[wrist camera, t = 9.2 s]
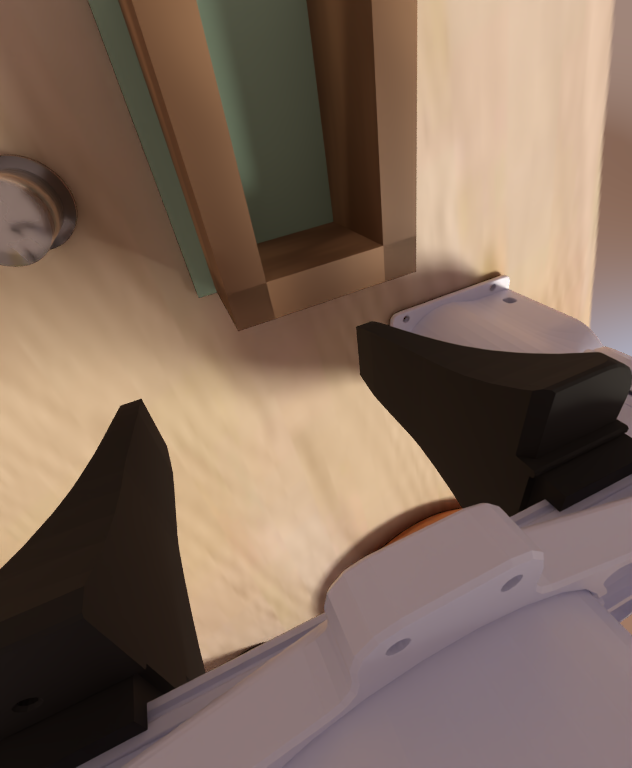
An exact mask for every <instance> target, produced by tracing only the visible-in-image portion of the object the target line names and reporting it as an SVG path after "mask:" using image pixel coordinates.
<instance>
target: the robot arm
mask: <svg viewBox="0 0 632 768" xmlns="http://www.w3.org/2000/svg"><path fill="white" fill-rule="evenodd" d="M509 283H510V278H509V277H508V276H506V275H501V276H498V277H495V278H492V279H489V280H487V281H484V282H481V283H478V284H476V285H473V286H470V287H467V288H464V289H462V290H459V291H456V292H453V293H450V294H448V295H445V296H442V297H439V298H437V299H434V300H431V301H428V302H425V303H423V304H420V305H417V306H414V307H411V308H409V309H406V310H403V311H400V312H398V313H395V314H394V315H393V316H392V318H391V320H390V326H389V325H385V324H382V323H378V322H373V321H372V322H369V323H366V324H363V325H360V326H357V327H356V330H357V342H358V354H359V366H360V375H361V377H362V378H363V380H364V381H365V383H366V384H367V386H368V387H369V389H370V390H371V392H372V393H373V395H374V396H375V397H376V398H377V399H378V401H379V402H380V403H381V404H382V405H383V406H384V407H385V408H386V409H387V410H388V412H389V413H390V414H391V415H392V416H393V417H394V418H395V419H396V420H397V421H398V422H399V423H400V425H401V426H402V427H403V428H404V429H405V430H406V431H407V432H408V433H409V434H410V435H411V436H412V438H413V439H414V440H415V441H416V442H417V444H418V445H419V446H420V447H421V449H422V450H423V451H424V453H425V454H426V455H427V457H428V458H429V460H430V461H431V462H432V464H433V465H434V466H435V468H436V469H437V471H438V472H439V474H440V475H441V477H442V478H443V479H444V481H445V482H446V484H447V485H448V487H449V488H450V490H451V491H452V493H453V494H454V496H455V497H456V499H457V501H458V502H459V504H460V505H461V507H462V508H463V509H461V510H459V511H457V512H455V513H453V514H451V515H449V516H447V517H445V518H443V519H441V520H439V521H437V522H435V523H433V524H431V525H428V526H426V527H424V528H422V529H420V530H418V531H416V532H414V533H412V534H410V535H408V536H406V537H404V538H402V539H400V540H398V541H396V542H394V543H392V544H390V545H388V546H386V547H384V548H381V549H379V550H377V551H375V552H373V553H371V554H369V555H367V556H365V557H364V558H362V559H361V560H359V561H357V562H356V563H354V564H353V565H351V566H350V567H348V568H347V569H345V570H344V571H343V572H342V573H341V574H340V575H339V577H338V578H337V579H336V580H335V581H334V582H333V583H332V585H331V586H330V587H329V589H328V592H327V595H326V600H325V605H324V611H325V612H324V613H322V614H320V615H318V616H316V617H314V618H312V619H310V620H308V621H306V622H304V623H302V624H300V625H299V626H297V627H295V628H293V629H291V630H289V631H287V632H285V633H283V634H281V635H279V636H277V637H275V638H273V639H271V640H269V641H267V642H265V643H263V644H261V645H259V646H258V647H256V648H254V649H252V650H250V651H248V652H246V653H244V654H242V655H240V656H238V657H236V658H234V659H232V660H230V661H228V662H226V663H224V664H222V665H220V666H219V667H217V668H215V669H213V670H211V671H209V672H207V673H205V669H204V665H203V661H202V657H201V653H200V648H199V644H198V640H197V635H196V631H195V626H194V622H193V617H192V613H191V608H190V603H189V598H188V593H187V588H186V584H185V579H184V573H183V568H182V563H181V557H180V552H179V545H178V536H177V522H176V508H175V494H174V481H173V471H172V467H171V462H170V457H169V453H168V449H167V445H166V443H165V442H164V440H163V438H162V436H161V434H160V432H159V431H158V429H157V427H156V425H155V423H154V421H153V419H152V418H151V416H150V414H149V412H148V410H147V408H146V406H145V405H144V403H143V401H142V399H139V400H136V401H133V402H130V403H127V404H124V405H121V406H120V408H119V409H118V411H117V413H116V415H115V417H114V419H113V421H112V422H111V424H110V426H109V428H108V430H107V432H106V434H105V436H104V438H103V439H102V441H101V443H100V445H99V446H98V448H97V450H96V452H95V454H94V455H93V457H92V458H91V460H90V462H89V463H88V465H87V466H86V468H85V469H84V471H83V473H82V474H81V476H80V477H79V479H78V480H77V482H76V483H75V485H74V486H73V488H72V489H71V490H70V492H69V493H68V494H67V496H66V497H65V498H64V500H63V501H62V502H61V503H60V505H59V506H58V507H57V508H56V510H55V511H54V512H53V513H52V515H51V516H50V517H49V518H48V519H47V520H46V521H45V523H44V524H43V525H42V526H41V527H40V528H39V529H38V530H37V531H36V533H35V534H34V535H33V536H32V537H31V538H30V539H29V540H28V542H27V543H26V544H25V545H24V546H23V547H22V548H21V549H20V550H19V551H18V552H17V553H16V554H15V555H14V556H13V557H12V558H11V559H10V560H9V561H8V562H7V563H6V564H5V565H4V566H3V567H2V568H1V569H0V768H632V635H631V634H630V633H629V632H628V631H627V630H626V629H625V628H624V627H623V626H622V625H621V624H620V622H622V621H623V620H624V619H626V618H627V617H628V616H630V615H631V614H632V357H631V356H629V355H627V354H624V353H622V352H619V351H617V350H614V349H612V348H608V347H603V346H602V344H601V342H600V340H599V339H598V338H597V336H596V335H595V334H594V333H593V331H592V330H591V329H590V328H588V327H587V326H586V325H585V324H584V323H582V322H581V321H579V320H577V319H575V318H573V317H571V316H568V315H566V314H564V313H562V312H559V311H557V310H555V309H553V308H550V307H548V306H546V305H544V304H541V303H539V302H537V301H534V300H532V299H530V298H528V297H525V296H523V295H521V294H519V293H516V292H514V291H512V290H509ZM490 287H491V288H490ZM405 316H406V318H405V320H403V318H404V317H405Z"/></svg>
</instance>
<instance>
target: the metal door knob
mask: <svg viewBox="0 0 632 768" xmlns="http://www.w3.org/2000/svg"><path fill="white" fill-rule="evenodd" d="M76 221H77V209H76V204H75V201H74V198H73V196H72V194H71V192H70V190H69V188H68V187H67V186H66V184H65V183H64V182H63V181H62V179H61V178H60V177H59V176H58V175H57V174H55V173H54V172H53V171H52V170H50V169H49V168H48V167H46V166H44V165H43V164H41V163H39V162H37V161H35V160H32V159H29V158H26V157H22V156H17V155H2V156H0V265H4V266H13V267H18V266H26V265H30V264H33V263H35V262H37V261H39V260H40V259H41V258H43V257H44V256H45V255H46V253H47V252H48V250H50V249H53V248H56V247H58V246H60V245H61V244H63V243H64V242H65V241H66V240H68V239H69V237H70V236H71V234H72V232H73V230H74V228H75V225H76Z"/></svg>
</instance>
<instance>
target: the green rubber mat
mask: <svg viewBox="0 0 632 768" xmlns="http://www.w3.org/2000/svg"><path fill="white" fill-rule="evenodd" d="M88 2H89V5H90V7H91V10H92V13H93V15H94V18H95V21H96V23H97V26H98V29H99V31H100V34H101V37H102V40H103V42H104V45H105V48H106V50H107V53H108V56H109V58H110V61H111V64H112V66H113V69H114V72H115V74H116V77H117V80H118V82H119V85H120V88H121V91H122V93H123V96H124V99H125V101H126V104H127V107H128V109H129V112H130V115H131V117H132V120H133V123H134V125H135V128H136V131H137V133H138V136H139V139H140V141H141V144H142V147H143V150H144V152H145V155H146V158H147V160H148V163H149V166H150V168H151V171H152V174H153V176H154V179H155V182H156V184H157V187H158V190H159V192H160V195H161V198H162V201H163V203H164V206H165V209H166V211H167V214H168V217H169V219H170V222H171V225H172V227H173V230H174V233H175V235H176V238H177V241H178V243H179V246H180V249H181V252H182V254H183V257H184V260H185V262H186V265H187V268H188V270H189V273H190V276H191V278H192V281H193V284H194V286H195V289H196V292H197V294H198V297H199V298H201V297H204V296H207V295H211V294H214V293H217V291H216V289H215V286H214V283H213V280H212V277H211V274H210V271H209V268H208V265H207V262H206V259H205V256H204V253H203V250H202V247H201V244H200V241H199V239H198V236H197V233H196V230H195V227H194V224H193V221H192V218H191V215H190V212H189V209H188V206H187V203H186V200H185V197H184V194H183V191H182V188H181V185H180V182H179V179H178V176H177V173H176V171H175V168H174V165H173V162H172V159H171V156H170V153H169V150H168V147H167V144H166V141H165V138H164V135H163V132H162V129H161V126H160V123H159V120H158V117H157V114H156V111H155V108H154V105H153V103H152V100H151V97H150V94H149V91H148V88H147V85H146V82H145V79H144V76H143V73H142V70H141V67H140V64H139V61H138V58H137V55H136V52H135V49H134V46H133V43H132V40H131V37H130V35H129V32H128V29H127V26H126V23H125V20H124V17H123V14H122V11H121V8H120V5H119V2H118V0H88ZM196 2H197V6H198V10H199V14H200V18H201V22H202V26H203V30H204V34H205V38H206V42H207V46H208V50H209V54H210V58H211V62H212V66H213V70H214V74H215V78H216V82H217V86H218V90H219V94H220V98H221V102H222V106H223V110H224V114H225V118H226V122H227V126H228V130H229V134H230V138H231V142H232V146H233V150H234V154H235V158H236V162H237V166H238V170H239V175H240V179H241V183H242V187H243V191H244V195H245V199H246V203H247V207H248V211H249V215H250V219H251V223H252V227H253V231H254V235H255V239H256V243H257V244H258V243H261V242H265V241H268V240H272V239H275V238H278V237H282V236H285V235H289V234H292V233H296V232H299V231H303V230H306V229H310V228H313V227H317V226H320V225H324V224H327V223H331V222H333V214H332V206H331V197H330V189H329V181H328V173H327V165H326V157H325V148H324V140H323V132H322V124H321V116H320V107H319V99H318V91H317V83H316V75H315V67H314V58H313V50H312V42H311V34H310V26H309V18H308V9H307V1H306V0H196Z"/></svg>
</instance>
